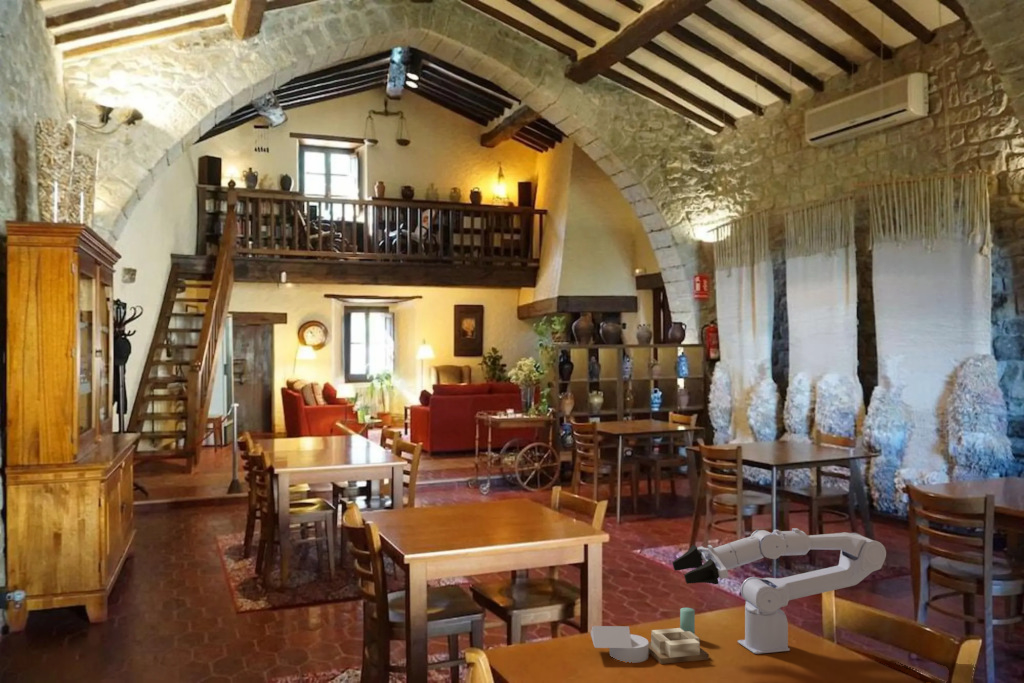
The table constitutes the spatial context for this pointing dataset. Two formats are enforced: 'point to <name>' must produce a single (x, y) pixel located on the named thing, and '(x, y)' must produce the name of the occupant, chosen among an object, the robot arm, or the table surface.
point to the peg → (687, 619)
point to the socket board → (675, 646)
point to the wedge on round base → (620, 643)
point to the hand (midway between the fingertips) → (679, 572)
